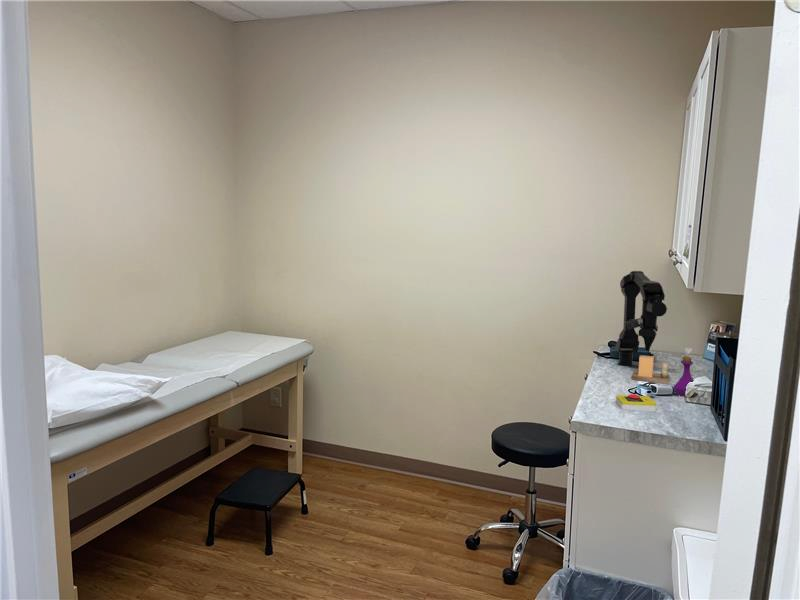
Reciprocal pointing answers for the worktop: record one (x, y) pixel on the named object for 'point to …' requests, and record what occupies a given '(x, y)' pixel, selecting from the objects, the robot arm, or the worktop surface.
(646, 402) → the emergency button
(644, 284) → the robot arm
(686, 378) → the perfume bottle
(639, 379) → the wooden holder
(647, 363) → the kraft paper carton
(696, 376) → the worktop surface
